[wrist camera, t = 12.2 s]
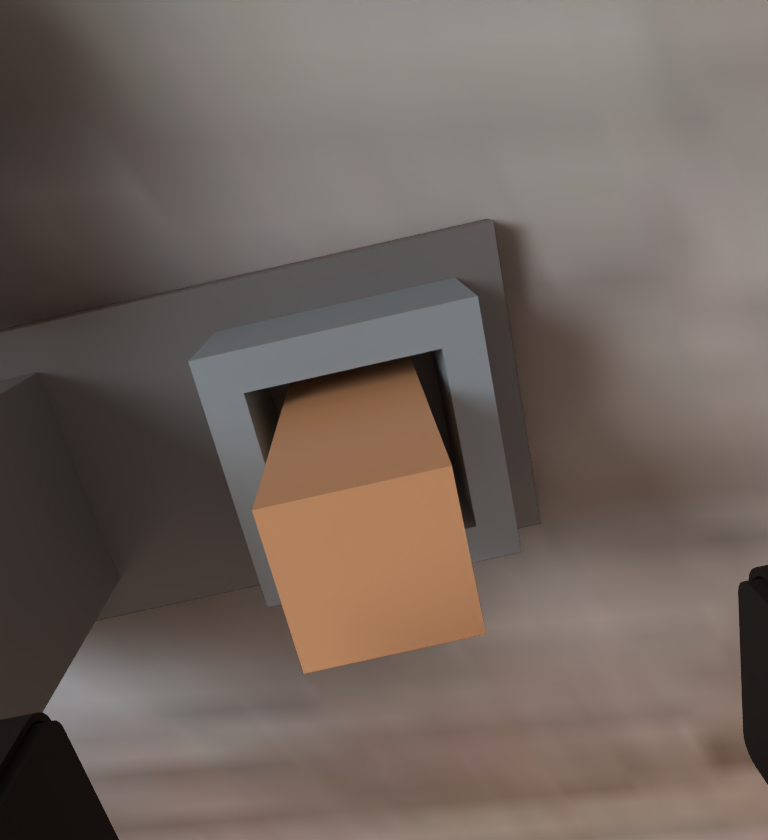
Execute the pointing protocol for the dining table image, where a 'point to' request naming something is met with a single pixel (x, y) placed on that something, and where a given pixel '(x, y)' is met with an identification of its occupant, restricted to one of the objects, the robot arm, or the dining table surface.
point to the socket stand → (227, 430)
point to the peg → (365, 520)
